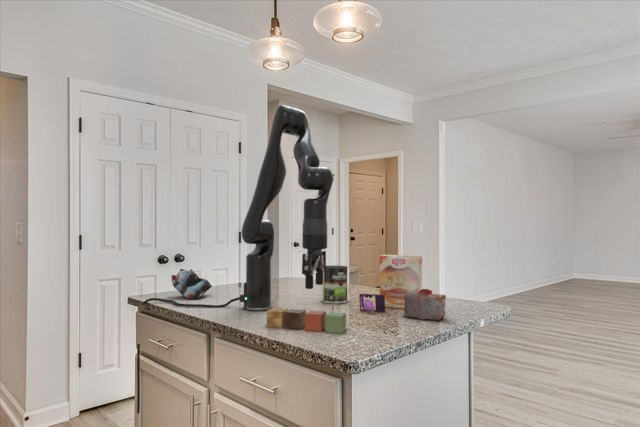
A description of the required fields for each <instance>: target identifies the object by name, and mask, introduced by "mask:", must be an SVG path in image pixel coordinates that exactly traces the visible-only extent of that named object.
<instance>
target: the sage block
mask: <svg viewBox="0 0 640 427" xmlns="http://www.w3.org/2000/svg"><path fill="white" fill-rule="evenodd" d="M346 330H347V313H346V312H336V311H329V312H328V313H326V315H325V329H324V333H330V334H343V333H344V332H346Z"/></svg>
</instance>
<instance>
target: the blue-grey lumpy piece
mask: <svg viewBox="0 0 640 427" xmlns="http://www.w3.org/2000/svg"><path fill="white" fill-rule="evenodd" d="M170 276H171V286H172V287H173V288H174V289H176V291H177V292H178V293H179V294H180V296H183V297H185V298H186V299H187V300H198V299H199V298H201V297H202V296H203V295H204V294H205V293H206V292H208V291H209V290H210V289H211V288H212V287H213V285H212V284H211V283H210V282H209V280H208V279H207V278H203V277H202V278H201V277H199V275H198V274H197V273H196V272H195V271H193V269H188V270H186V269H183V268H180V269H179V271H178V273H177V274H175V275H174V274H173V275H170Z"/></svg>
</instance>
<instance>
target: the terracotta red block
mask: <svg viewBox="0 0 640 427" xmlns="http://www.w3.org/2000/svg"><path fill="white" fill-rule="evenodd" d="M326 314H327V311H325V310H311V309H310V310H309V311H306V313H305V327H304V331H309V332H320V333H321V332H323V331H325V315H326Z"/></svg>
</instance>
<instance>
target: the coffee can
mask: <svg viewBox="0 0 640 427" xmlns="http://www.w3.org/2000/svg"><path fill="white" fill-rule="evenodd" d="M348 268H349V267H348V266H347V265H326V270H324V272H323V284H322V285H321V286H322V288H321V290H322V291H321V293H322V295H321V296H322V298H321V299H322V300H321V302H322V303H326V304H331V305H335V304H345V303H348Z"/></svg>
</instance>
